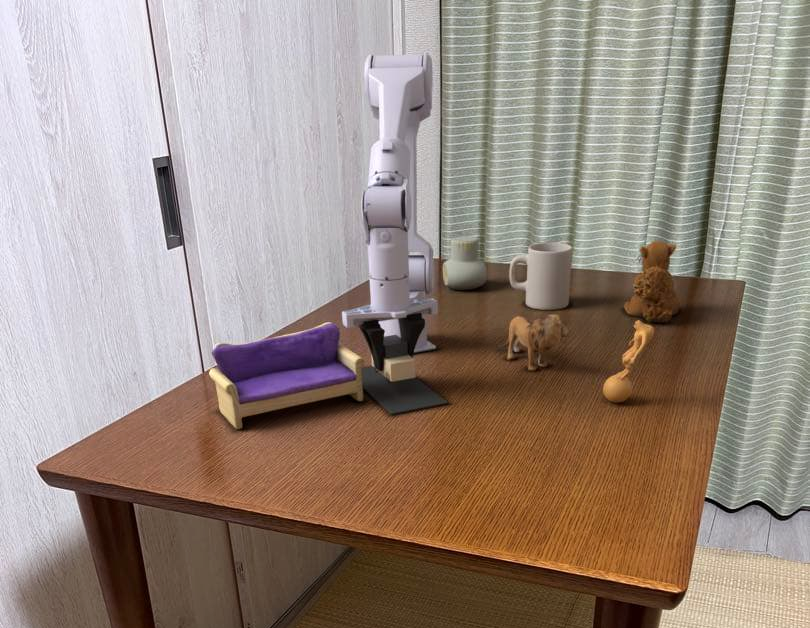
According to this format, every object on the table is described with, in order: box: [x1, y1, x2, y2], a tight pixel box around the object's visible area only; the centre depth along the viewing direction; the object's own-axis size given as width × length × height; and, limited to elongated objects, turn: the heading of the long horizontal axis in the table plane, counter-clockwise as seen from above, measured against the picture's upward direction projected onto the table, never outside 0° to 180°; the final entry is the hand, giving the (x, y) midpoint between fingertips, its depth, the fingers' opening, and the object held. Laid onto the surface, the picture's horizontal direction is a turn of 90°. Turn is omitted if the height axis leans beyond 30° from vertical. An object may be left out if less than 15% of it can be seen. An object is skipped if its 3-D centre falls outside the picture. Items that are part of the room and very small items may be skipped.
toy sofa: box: [208, 321, 366, 430], centre depth 117 cm, size 21×9×10 cm, turn 118°
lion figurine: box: [498, 313, 569, 372], centre depth 131 cm, size 15×5×9 cm, turn 33°
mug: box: [508, 242, 573, 311], centre depth 160 cm, size 12×8×11 cm
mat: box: [361, 365, 449, 416], centre depth 125 cm, size 20×9×1 cm, turn 23°
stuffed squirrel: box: [623, 240, 681, 323], centre depth 149 cm, size 10×14×13 cm
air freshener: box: [442, 235, 488, 291], centre depth 172 cm, size 11×8×10 cm
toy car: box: [370, 335, 417, 383], centre depth 123 cm, size 8×4×5 cm, turn 23°
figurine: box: [602, 319, 655, 404], centre depth 115 cm, size 8×6×12 cm
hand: (392, 366), depth 124 cm, fingers closed on toy car, 4 cm apart
